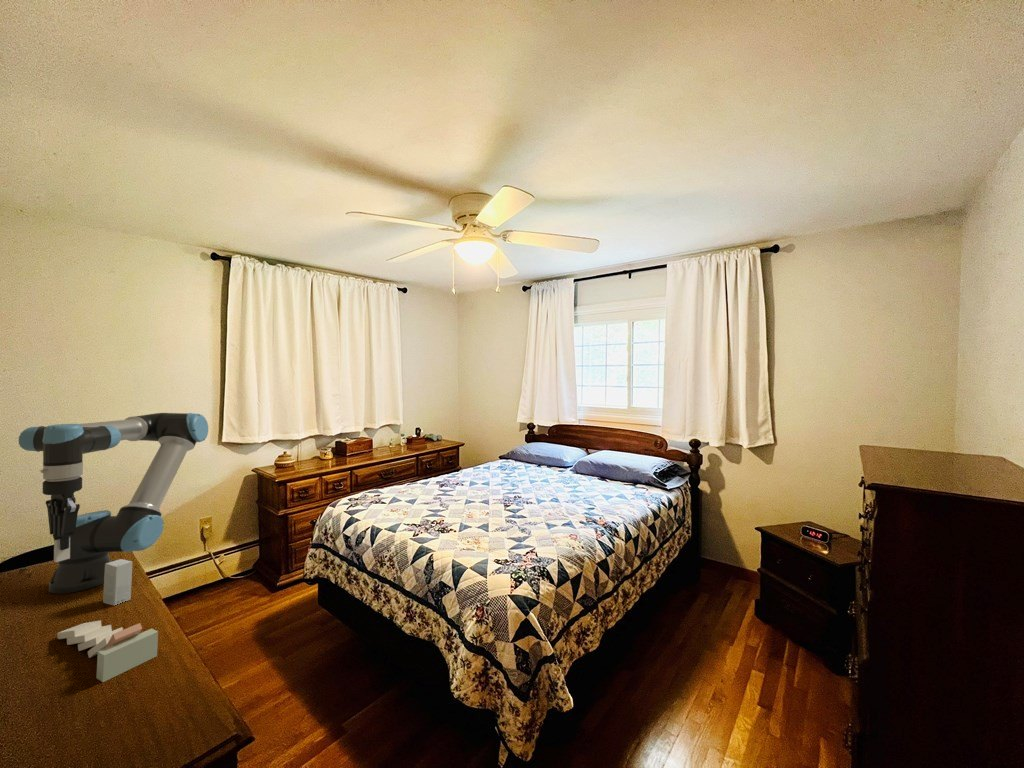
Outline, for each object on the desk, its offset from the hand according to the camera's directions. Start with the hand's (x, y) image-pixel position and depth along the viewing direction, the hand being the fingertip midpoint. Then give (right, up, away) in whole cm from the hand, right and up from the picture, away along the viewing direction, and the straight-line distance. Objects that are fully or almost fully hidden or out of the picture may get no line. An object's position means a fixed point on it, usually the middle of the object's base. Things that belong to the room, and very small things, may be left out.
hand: (61, 559), depth 113 cm
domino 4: (+26, -16, -14) cm, 34 cm away
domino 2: (+15, -16, -9) cm, 24 cm away
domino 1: (+10, -16, -7) cm, 20 cm away
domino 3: (+21, -16, -11) cm, 29 cm away
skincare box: (+6, -18, +10) cm, 21 cm away
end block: (+38, -17, -19) cm, 45 cm away
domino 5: (+31, -17, -16) cm, 39 cm away
